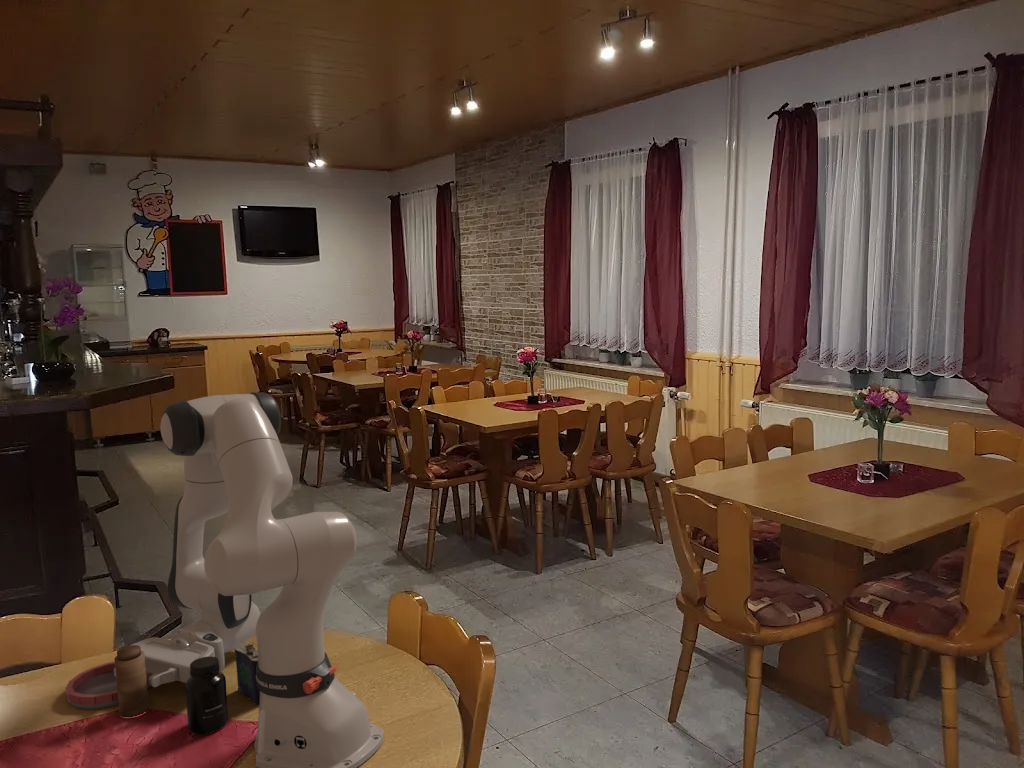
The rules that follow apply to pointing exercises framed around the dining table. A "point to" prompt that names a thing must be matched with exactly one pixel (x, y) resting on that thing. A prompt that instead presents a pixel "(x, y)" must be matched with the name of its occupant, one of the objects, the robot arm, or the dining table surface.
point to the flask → (247, 672)
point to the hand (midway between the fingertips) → (133, 678)
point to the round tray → (95, 688)
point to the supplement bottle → (206, 696)
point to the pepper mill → (131, 681)
